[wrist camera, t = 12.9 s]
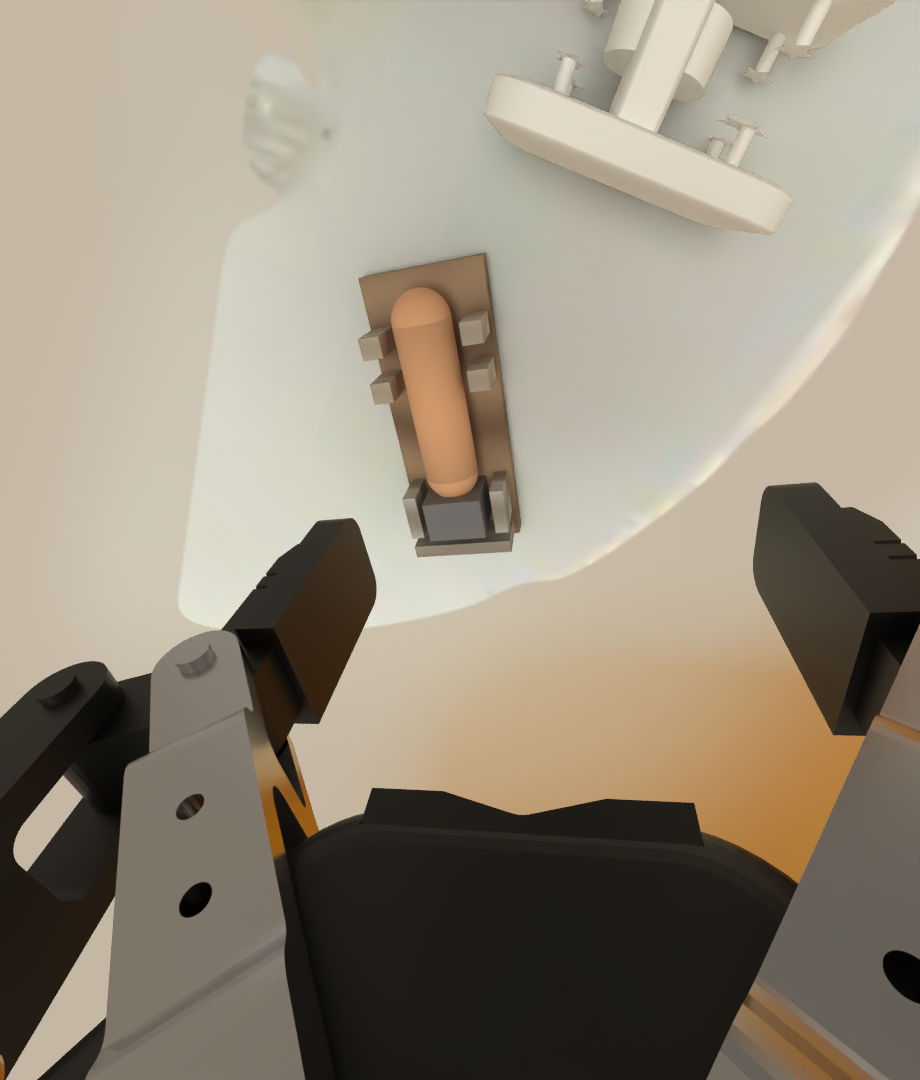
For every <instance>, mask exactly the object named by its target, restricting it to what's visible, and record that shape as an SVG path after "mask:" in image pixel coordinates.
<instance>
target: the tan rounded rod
mask: <svg viewBox="0 0 920 1080" xmlns="http://www.w3.org/2000/svg"><path fill="white" fill-rule="evenodd" d="M391 324H392V330H393V334H394V339H395V343H396V347H397V352H398V356H399V360H400V365H401V369H402V373H403V378H404V382H405V386H406V391H407V395H408V399H409V404H410V408H411V412H412V416H413V421H414V425H415V429H416V434H417V438H418V442H419V447H420V451H421V455H422V460H423V464H424V468H425V473H426V477H427V480H428V483H429V485H430V489H429V491H428V493H427V496H426V498H425V500H424V502H423V504H422V508H423V512H424V516H425V521H426V525H427V529H428V533H429V537H430V541H446V540H460V539H475V538H486V534H487V530H488V525H489V521H490V516H491V511H492V508H491V502H490V496H489V490H488V484H487V478H486V475H482V476H478V466H477V460H476V455H475V449H474V443H473V437H472V432H471V426H470V420H469V414H468V409H467V403H466V397H465V391H464V386H463V380H462V374H461V368H460V363H459V357H458V351H457V345H456V340H455V334H454V328H453V322H452V316H451V312H450V308H449V306H448V304H447V302H446V301H445V300H444V298H443V297H442V296H441V295H440V294H438V293H437V292H435V291H434V290H432V289H429V288H424V287H417V288H412V289H409V290H407V291H406V292H404V293H403V294H402V295H401V296H400V297H399V298H398V299H397V300H396V302H395V304H394V306H393V309H392V313H391Z"/></svg>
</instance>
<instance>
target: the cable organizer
mask: <svg viewBox="0 0 920 1080" xmlns="http://www.w3.org/2000/svg"><path fill="white" fill-rule="evenodd" d="M603 1H604V0H585V2H586V3H587V4H586V5H583V6H581V7H583V8H585V9H588V10H590V11H593V12H594V13H595V14H596V15H597V16H598V17H600V15H601V14H602V13H603V14H609V15H612V14H611V13H609V12H608V11H606V10H605V9H604V8H603ZM896 1H897V0H621V1H620V4H619V7H618V10H617V14H616V17H615V20H614V23H613V26H612V29H611V32H610V35H609V39H608V42H607V45H606V48H605V51H604V54H603V58H602V59H603V63H604V64H605V66H606V67H607V68H608V69H609V70H610V71H612V72H613V73H615V74H616V75H618V76H620V77H622V78H621V81H620V84H619V86H618V89H617V91H616V94H615V97H614V99H613V102H612V104H611V107H610V110H609V112H606V111H603V110H601V109H598V108H596V107H594V106H591V105H589V104H587V103H584V102H582V101H579V100H577V99H575V98H572V97H570V96H571V93H572V90H575V88H578V89H582V90H584V89H583V88H582V87H580V86H579V85H578V84H576V82H575V81H574V80H571V79H572V76H573V74H574V71H575V69H576V70H577V69H578V67H579V66H580V67H584V68H588V69H590V68H589V67H587V66H586V65H585V64H583V63H582V62H580V61H579V57H576V56H571V55H569V54H566V53H563V52H560V51H557V50H556V51H557V52H558V53H559V54H560V55H561V56H562V57H560V58H557V59H558V60H561V61H562V62H561V65H560V68H559V71H558V74H557V77H556V80H555V83H554V86H553V89H551V88H549V87H546V86H544V85H541V84H539V83H536V82H533V81H530V80H527V79H524V78H521V77H517V76H512V75H506V74H497V75H495V76H494V79H493V82H492V86H491V90H490V93H489V97H488V100H487V104H486V108H485V111H484V115H485V116H486V118H487V119H488V120H489V121H490V123H491V124H492V125H493V126H494V128H495V129H496V130H497V132H498V133H499V134H500V135H501V136H502V137H503V138H504V139H505V140H506V141H508V142H509V143H511V144H513V145H514V146H516V147H518V148H520V149H522V150H524V151H526V152H528V153H530V154H533V155H535V156H537V157H540V158H542V159H545V160H547V161H549V162H552V163H554V164H557V165H559V166H562V167H564V168H566V169H569V170H571V171H574V172H576V173H578V174H581V175H583V176H586V177H588V178H591V179H593V180H595V181H598V182H600V183H603V184H605V185H607V186H610V187H612V188H615V189H617V190H620V191H622V192H624V193H627V194H629V195H632V196H634V197H636V198H639V199H641V200H644V201H646V202H649V203H651V204H653V205H656V206H658V207H661V208H663V209H666V210H668V211H670V212H673V213H675V214H678V215H680V216H682V217H685V218H687V219H690V220H692V221H695V222H698V223H701V224H704V225H707V226H711V227H715V228H720V229H728V230H736V231H744V232H751V233H759V234H773V233H775V231H776V229H777V228H778V226H779V224H780V222H781V221H782V219H783V217H784V216H785V214H786V212H787V211H788V209H789V207H790V206H791V204H792V202H793V198H792V196H791V195H790V194H789V193H788V192H786V191H785V190H784V189H782V188H781V187H779V186H777V185H776V184H774V183H772V182H770V181H768V180H766V179H764V178H762V177H760V176H758V175H755V174H753V173H751V172H748V171H746V170H743V169H741V168H739V167H738V166H739V164H740V162H741V160H742V158H743V156H744V154H745V152H746V150H747V148H748V146H749V144H750V142H751V140H752V138H753V137H754V135H755V134H756V135H760V136H763V137H766V138H768V137H767V136H766V135H765V134H764V133H763V132H762V131H760V130H759V129H758V128H759V126H758V125H756V124H755V123H754V122H752V121H751V120H749V119H748V118H743V117H735V116H726V117H727V118H728V120H717V121H719V122H722V123H725V124H727V125H730V126H733V127H735V128H736V129H737V130H738V131H739V132H738V134H737V136H736V138H735V140H734V142H733V144H732V145H731V144H730V143H731V141H729V140H726V139H723V138H720V137H716V136H713V135H711V136H712V138H705V139H707V140H710V141H712V142H711V144H710V146H709V148H708V150H707V152H706V154H705V153H703V152H701V151H698V150H696V149H693V148H691V147H689V146H686V145H684V144H682V143H679V142H677V141H674V140H672V139H670V138H667V137H665V136H663V135H660V134H658V131H659V129H660V126H661V124H662V122H663V120H664V117H665V115H666V113H667V110H668V108H669V106H670V104H671V101H672V100H676V101H693V100H697V99H699V98H700V97H701V96H702V95H703V93H704V90H705V88H706V86H707V84H708V82H709V80H710V77H711V75H712V73H713V71H714V69H715V67H716V64H717V62H718V60H719V58H720V56H721V54H722V51H723V49H724V47H725V45H726V43H727V41H728V38H729V36H730V34H731V32H732V29H733V25H735V26H737V27H739V28H741V29H744V30H746V31H748V32H751V33H753V34H755V35H758V36H760V37H762V38H764V39H767V40H769V42H768V44H767V46H766V48H765V50H764V52H763V54H762V56H761V58H760V60H759V62H758V64H757V66H756V68H755V70H754V69H752V68H750V67H748V72H745V73H739V74H741V75H744V76H746V77H749V78H751V79H752V81H753V83H755V82H758V81H764V82H770V83H773V82H771V81H770V80H769V79H768V78H766V77H767V75H768V74H769V71H770V69H771V67H772V65H773V63H774V61H775V59H776V57H777V55H778V53H779V51H781V52H784V53H787V55H788V57H789V59H790V60H791V59H794V58H796V57H805V58H811V59H814V58H813V57H812V56H811V55H810V54H809V53H808V52H807V51H808V50H809V49H815V48H819V47H822V46H824V45H825V44H827V43H829V42H830V41H832V40H834V39H835V38H837V37H838V36H840V35H842V34H843V33H845V32H847V31H848V30H850V29H852V28H853V27H855V26H856V25H858V24H860V23H861V22H863V21H865V20H866V19H868V18H870V17H871V16H873V15H875V14H876V13H878V12H879V11H881V10H883V9H884V8H886V7H888V6H889V5H891V4H893V3H894V2H896ZM782 45H784V46H782ZM723 146H728V147H731V148H730V150H729V152H728V154H727V156H726V158H725V160H724V161H722V160H720V159H717V158H718V156H719V154H720V152H721V150H722V148H723Z"/></svg>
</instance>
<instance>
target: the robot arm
mask: <svg viewBox="0 0 920 1080" xmlns="http://www.w3.org/2000/svg"><path fill="white" fill-rule="evenodd" d="M916 556H917V555H916V554H915V553H914V552H913V551H912V550H911V549H910V548H909V547H908V546H907V545H906V544H904V543H902V544H901V539H899V537H898V536H897V535H895V533H894V532H892V531H891V530H890V529H889V528H888V527H887V526H886V525H885V524H884V523H883V522H882V521H880V520H878V519H876V518H874V517H872V516H870V515H868V514H866V513H863V512H861V511H859V510H857V509H855V508H853V507H848V508H841V507H840V506H839V505H838V504H837V503H836V502H835V501H834V500H833V498H832V497H831V496H830V495H829V494H828V493H827V492H826V491H825V490H824V489H823V488H822V487H821V486H820V485H819V484H818V483H800V484H787V485H775V486H768V487H767V488H766V489H765V490H764V492H763V495H762V500H761V507H760V515H759V521H758V528H757V536H756V543H755V549H754V558H753V572H754V579H755V583H756V586H757V589H758V592H759V594H760V596H761V598H762V599H763V601H764V603H765V605H766V607H767V609H768V611H769V613H770V615H771V616H772V618H773V620H774V622H775V624H776V626H777V628H778V630H779V632H780V634H781V636H782V638H783V640H784V642H785V643H786V645H787V647H788V649H789V651H790V653H791V655H792V657H793V659H794V661H795V663H796V664H797V666H798V668H799V670H800V672H801V674H802V676H803V678H804V680H805V682H806V684H807V685H808V687H809V689H810V691H811V693H812V695H813V697H814V699H815V701H816V703H817V705H818V707H819V708H820V710H821V712H822V714H823V716H824V718H825V720H826V722H827V724H828V726H829V728H830V730H831V732H832V733H833V735H854V736H855V735H856V736H866V737H865V739H864V741H863V743H862V746H861V748H860V751H859V753H858V754H857V757H856V759H855V761H854V763H853V765H852V768H851V770H850V772H849V774H848V776H847V779H846V781H845V783H844V785H843V788H842V790H841V792H840V794H839V796H838V799H837V801H836V803H835V805H834V807H833V809H832V812H831V814H830V816H829V818H828V821H827V823H826V825H825V827H824V829H823V832H822V834H821V836H820V839H819V840H818V843H817V845H816V847H815V849H814V851H813V854H812V856H811V858H810V860H809V863H808V865H807V867H806V869H805V871H804V874H803V876H802V878H801V880H800V882H799V884H798V883H797V882H795V881H794V880H793V879H792V878H790V877H789V876H788V875H786V874H785V873H783V872H782V871H780V870H779V869H777V868H775V867H774V866H773V865H771V864H770V863H768V862H767V861H765V860H764V859H762V858H760V857H758V856H756V855H754V854H753V853H751V852H749V851H747V850H745V849H743V848H741V847H739V846H737V845H735V844H733V843H730V842H728V841H725V840H723V839H721V838H718V837H716V836H713V835H710V834H706V833H703V832H701V831H700V827H699V823H698V818H697V814H696V810H695V805H694V803H682V802H660V801H639V800H618V799H617V800H616V799H604V800H599V801H594V802H589V803H584V804H579V805H574V806H570V807H564V808H560V809H554V810H549V811H545V812H540V813H535V814H530V815H516V814H512V813H509V812H506V811H502V810H500V809H496V808H493V807H490V806H487V805H484V804H481V803H478V802H475V801H472V800H468V799H465V798H462V797H459V796H456V795H453V794H450V793H447V792H444V791H427V790H406V789H384V788H372V790H371V793H370V797H369V800H368V803H367V806H366V809H365V812H364V814H360V815H356V816H353V817H350V818H347V819H344V820H342V821H339V822H337V823H335V824H333V825H330V826H328V827H326V828H324V829H322V830H320V831H319V829H318V826H317V823H316V820H315V817H314V814H313V811H312V807H311V804H310V800H309V797H308V793H307V791H306V787H305V783H304V780H303V776H302V773H301V770H300V766H299V763H298V760H297V756H296V753H295V749H294V746H293V744H292V741H291V740H290V738H289V736H288V734H289V732H290V730H291V728H292V726H293V724H294V723H300V724H301V723H302V724H304V723H305V724H319V722H320V720H321V718H322V716H323V714H324V712H325V709H326V707H327V705H328V703H329V701H330V698H331V696H332V694H333V691H334V690H335V688H336V686H337V683H338V681H339V679H340V677H341V675H342V673H343V671H344V668H345V666H346V664H347V662H348V660H349V658H350V655H351V653H352V651H353V649H354V647H355V644H356V642H357V640H358V638H359V636H360V634H361V632H362V629H363V627H364V625H365V623H366V621H367V619H368V616H369V614H370V612H371V610H372V608H373V606H374V603H375V599H376V580H375V575H374V572H373V569H372V566H371V563H370V560H369V556H368V553H367V550H366V547H365V544H364V541H363V538H362V535H361V531H360V528H359V526H358V524H357V522H356V521H355V520H354V519H352V518H347V519H334V520H321V521H318V522H316V523H315V525H314V526H313V527H312V528H311V530H310V531H309V532H308V534H307V535H306V536H305V538H304V539H303V540H302V541H301V543H300V544H297V545H296V546H295V547H293V548H292V549H290V550H289V551H288V552H286V553H285V554H284V555H282V556H281V557H279V558H278V559H277V561H276V562H275V563H274V564H273V566H272V567H271V568H270V569H269V571H268V572H267V573H266V575H267V576H266V577H263V578H262V579H261V581H260V582H259V583H258V585H257V586H256V589H254V590H253V591H252V592H251V593H250V595H249V596H248V597H247V598H246V600H245V601H244V602H243V603H242V605H241V606H240V607H239V608H238V610H237V611H236V612H235V613H234V615H233V616H232V617H231V618H230V620H229V621H228V622H227V623H226V625H225V626H224V627H223V628H222V630H219V631H210V632H205V633H202V634H199V635H196V636H193V637H191V638H189V639H187V640H185V641H183V642H182V643H180V644H178V645H177V646H175V647H174V648H172V649H171V650H170V651H169V652H168V653H166V654H165V655H164V656H163V657H162V658H161V659H160V661H159V662H158V663H157V664H156V666H155V668H154V670H153V672H152V673H150V674H146V675H142V676H138V677H135V678H130V679H126V680H123V681H119V682H117V681H116V680H115V678H114V677H113V676H112V674H111V673H110V671H109V670H108V669H107V667H106V666H105V665H104V664H103V663H101V662H95V661H91V662H83V663H79V664H76V665H72V666H70V667H67V668H65V669H62V670H60V671H58V672H56V673H54V674H52V675H51V676H49V677H47V678H46V679H44V680H43V681H41V682H40V683H38V684H37V685H36V686H34V687H33V688H32V689H30V690H29V691H28V692H27V693H26V694H25V695H24V696H23V697H22V698H21V699H20V700H19V701H18V702H17V703H16V704H15V705H14V706H12V707H11V708H10V709H9V710H8V711H7V712H6V713H5V714H4V715H3V717H1V718H0V1080H6V1078H7V1077H8V1075H9V1073H10V1071H11V1070H12V1068H13V1066H14V1065H15V1063H16V1061H17V1060H18V1058H19V1056H20V1055H21V1053H22V1051H23V1050H24V1048H25V1046H26V1045H27V1043H28V1041H29V1040H30V1038H31V1036H32V1034H33V1033H34V1031H35V1029H36V1028H37V1026H38V1024H39V1023H40V1021H41V1019H42V1018H43V1016H44V1014H45V1013H46V1011H47V1009H48V1008H49V1006H50V1004H51V1003H52V1001H53V999H54V997H55V996H56V994H57V993H58V991H59V989H60V987H61V986H62V984H63V982H64V981H65V979H66V977H67V976H68V974H69V972H70V971H71V969H72V967H73V966H74V964H75V962H76V961H77V959H78V957H79V956H80V954H81V952H82V950H83V949H84V947H85V945H86V944H87V942H88V940H89V939H90V937H91V935H92V934H93V932H94V930H95V929H96V927H97V925H98V923H99V922H100V920H101V918H102V917H103V915H104V913H105V912H106V910H107V908H108V907H109V905H110V903H111V902H112V900H113V898H114V897H115V906H114V920H113V933H112V947H111V961H110V974H109V988H108V1002H107V1016H106V1018H105V1019H104V1020H103V1021H101V1022H100V1023H99V1024H98V1025H97V1026H96V1027H95V1028H94V1029H93V1030H92V1031H90V1032H89V1033H88V1034H87V1035H86V1036H85V1037H84V1038H83V1039H82V1040H80V1041H79V1042H78V1043H77V1044H76V1045H75V1046H74V1047H73V1048H72V1049H71V1050H69V1051H68V1052H67V1053H66V1054H65V1055H64V1056H63V1057H62V1058H61V1059H60V1060H59V1061H57V1062H56V1063H55V1064H54V1065H53V1066H52V1067H51V1068H50V1069H49V1070H47V1071H46V1072H45V1073H44V1074H43V1075H42V1076H41V1077H40V1078H39V1079H37V1080H920V559H917V557H916ZM62 775H63V776H64V777H65V778H66V779H67V780H68V781H69V782H70V783H71V784H72V785H73V786H74V788H75V789H76V790H77V791H78V792H79V793H80V794H81V795H82V796H83V798H82V799H81V801H80V802H79V803H78V805H77V806H76V807H75V809H74V810H73V811H72V813H71V814H70V815H69V817H68V818H67V819H66V821H65V822H64V823H63V825H62V826H61V827H60V829H59V830H58V831H57V833H56V834H55V835H54V837H53V838H52V839H51V841H50V842H49V843H48V845H47V846H46V847H45V849H44V850H43V851H42V853H41V854H40V855H39V857H38V858H37V859H36V860H35V862H34V863H33V864H32V866H31V867H30V869H29V870H28V871H27V872H26V871H25V870H24V869H23V868H21V866H19V865H18V863H17V862H16V861H15V858H14V854H13V847H14V842H15V838H16V836H17V833H18V831H19V830H20V828H21V826H22V825H23V823H24V822H25V821H26V820H27V818H28V817H29V816H30V815H31V813H32V812H33V811H34V810H35V809H36V807H37V806H38V805H39V804H40V802H41V801H42V800H43V799H44V798H45V796H46V795H47V794H48V793H49V791H50V790H51V789H52V788H53V786H54V785H55V784H56V783H57V782H58V780H59V779H60V778H61V777H62Z"/></svg>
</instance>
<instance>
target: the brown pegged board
mask: <svg viewBox="0 0 920 1080" xmlns="http://www.w3.org/2000/svg"><path fill="white" fill-rule="evenodd" d="M359 283H360V287H361V291H362V295H363V299H364V303H365V307H366V311H367V315H368V319H369V323H370V327H371V331H370V332H368V333H367V334H365V335H364V336H362V337H361V338H359V339H358V342H359V346H360V349H361V353H362V357H363V361H368V360H375V359H379V363H380V368H381V372H382V374H381V375H380V376H379V377H378V378H377V379H376V380H375V381H374V382H373V383H371V384H370V387H371V391H372V395H373V399H374V403H375V405H378V404H386V403H389V404H390V408H391V412H392V416H393V420H394V424H395V428H396V432H397V436H398V440H399V444H400V448H401V452H402V456H403V460H404V464H405V468H406V472H407V476H408V480H409V484H410V486H409V488H408V490H407V492H406V494H405V496H404V498H403V503H404V507H405V511H406V515H407V519H408V522H409V526H410V530H411V534H412V538H413V539H416V538H418V541H417V543H416V546H415V549H416V553H417V557H428V556H445V555H462V554H479V553H496V552H512V544H513V537H514V533H519V532H520V527H521V521H520V513H519V505H518V498H517V490H516V483H515V475H514V468H513V460H512V452H511V445H510V437H509V430H508V422H507V414H506V407H505V399H504V392H503V384H502V377H501V369H500V361H499V354H498V346H497V339H496V331H495V323H494V316H493V308H492V301H491V293H490V286H489V278H488V270H487V263H486V255H485V253H483V254H478V255H473V256H467V257H462V258H457V259H452V260H447V261H441V262H436V263H431V264H426V265H421V266H415V267H410V268H405V269H400V270H394V271H389V272H384V273H379V274H374V275H368V276H364V277H361V278H359ZM417 287H424V288H429V289H432V290H434V291H435V292H437V293H438V294H440V295H441V296H442V297H443V298H444V300H445V301H446V302H447V304H448V306H449V308H450V312H451V316H452V322H453V328H454V334H455V340H456V345H457V351H458V357H459V363H460V368H461V374H462V380H463V386H464V391H465V397H466V403H467V409H468V414H469V420H470V426H471V432H472V437H473V443H474V449H475V455H476V460H477V466H478V476H482V475H486V478H487V484H488V490H489V496H490V502H491V508H492V511H491V516H490V521H489V525H488V530H487V534H486V538H475V539H460V540H446V541H430V537H429V533H428V529H427V525H426V521H425V516H424V512H423V508H422V504H423V502H424V500H425V498H426V496H427V493H428V491H429V489H430V485H429V483H428V480H427V477H426V473H425V468H424V464H423V460H422V455H421V451H420V447H419V442H418V438H417V434H416V429H415V425H414V421H413V416H412V412H411V408H410V404H409V399H408V395H407V391H406V386H405V382H404V378H403V373H402V369H401V365H400V360H399V356H398V352H397V347H396V343H395V339H394V334H393V330H392V324H391V313H392V309H393V306H394V304H395V302H396V300H397V299H398V298H399V297H400V296H401V295H402V294H403V293H404V292H406V291H407V290H409V289H412V288H417Z"/></svg>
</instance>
